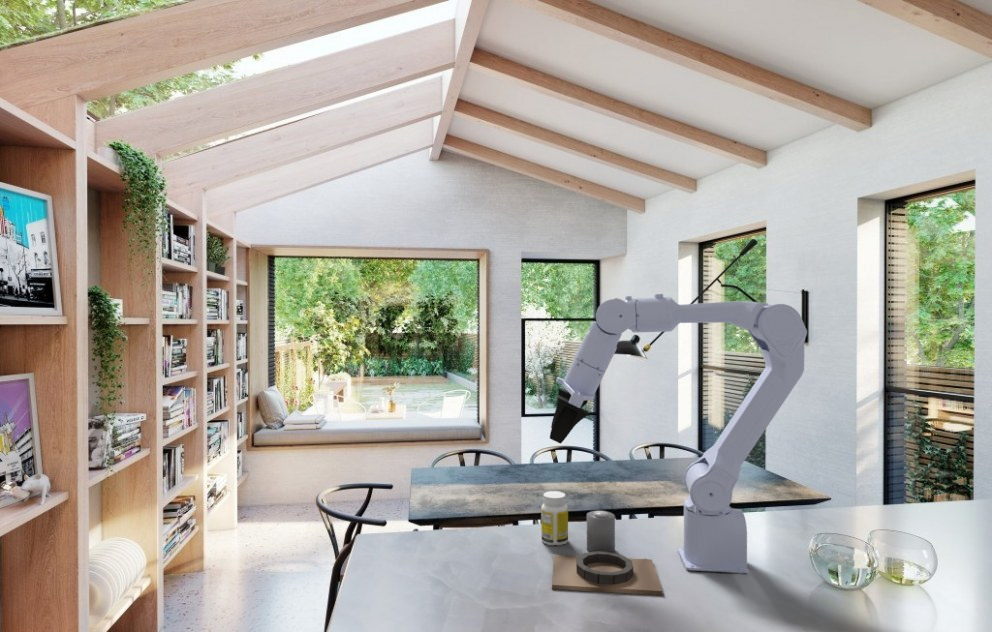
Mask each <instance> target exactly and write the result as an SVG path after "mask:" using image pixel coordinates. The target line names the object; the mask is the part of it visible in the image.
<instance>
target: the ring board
mask: <svg viewBox="0 0 992 632" xmlns="http://www.w3.org/2000/svg"><path fill="white" fill-rule="evenodd" d="M552 561H553V562H552V575H551V577H552V578H551V589H552V590H562V589H570V590H569V591H580V592H581V591H583V592H599V593H600V592H601V593H614V594H615V593H617V594H620V593H621V594H635V595H637V594H639V595H653V596H664V595H663V594H664V592H663V588H662V584H661V582H660V579H659V576H658V574H657V570H656V567H655V566H654V565H655V564H654V562H653V559H648V558H647V559H646V558H629V557H627V556H625V555H622V554H619V553H615V552H614V553H612V552H610V553H609V552H602V551H596V552H595V551H594V552H584V553H582V554H580V555H569V554H568V555H565V554H553V560H552Z"/></svg>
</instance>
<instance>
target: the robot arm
mask: <svg viewBox="0 0 992 632" xmlns="http://www.w3.org/2000/svg"><path fill="white" fill-rule="evenodd" d="M632 297H633V296H631V295H626V296H625V300H623V299H620V298H618V297H615V298H611V299H607V300H605V301H603V302H602V303H601V304H600V305H599V306H598V307H597V310H596V313H595V320H596V321H595V320H594V321H593V322H592V323H590V324H591V325H590V326H589V329H588V332H587V333H585V335H584V338H583V339H582V342H581V343H580V346H579V348H578V349H577V352H576V353H575V356H574V357H573V361H572V362H571V364H570V366H569V369H568V370H567V372H566V375H565V377H564V378H561V377H560V376H557V377H556V380H555V382H556V383H557V384H560V385H561V387H558V389H557V392H558V393H557V394H558V395H557V396H556V406H555V411H554V414H553V418H552V422H551V425H550V427H551V428H550V433H549V440H552V441H554V442H556V443H558V444H562V443H563V442H564V441H565V439H566V438H567V437H568V436H569V434H570V433H571V432H572V430H573V429H574V428H575V426H576V425H577V424H578V423H580V422H581V421H582V420H584V419H585V418H587V416H588V415H589V413H590V412H589V411H588V410H586V409H584V408H583V407H584V406H586V405H587V404H588V401H592V400H594V399H595V397H596V395H595V394H596V391H597V390H598V388H599V386H600V384H601V382H602V380H603V377H604V376H605V373H606V371H607V370H608V368H609V365H610V363H611V361H612V359H613V357H614V355H615V353H616V351H617V349H618V346H617V345H618V343H619V341H620V339H621V337H622V333H624V332H626V331H628V330H630V331H631V332H632V333H635V334H636V333H657V332H658V333H660V332H672V331H673V330H675V329H676V328H677V326H678V325H679V324H687V323H688V324H690V323H691V324H697V323H698V324H699V323H701V324H703V323H706V324H709V323H711V324H712V323H713V324H714V323H720V324H721V323H729V324H731V325H733V326H735V327H737V328H739V329H741V330H746V331H748V333H749V335H750V336H751V338H752V339H753V340H754V341H755V343H756V344H757V346H758V347H759V348H760V351H761V354H762V355H761V356H762V357H763V358H762V359H763V360H764V364H765V367H764V369H763V370H762V372H761V374H760V375H759V377H758V378H757V379H756V381H755V383H754V384H753V385H752V387H751V388H750V390H749V391H748V393H747V395H746V396H745V397H744V399H743V401H742V402H741V403H740V405H739V406H738V408H737V410H736V411H735V413H734V414H733V415H732V417H731V419H729V422H728V423H727V425H726V426H725V428H724V430H723V431H722V433H721V434H719V437H718V438H717V439H716V441H715V442H714V444H713V445H712V446H711V447H710V448H708V449H707V450H706V451H704V452H703V454H702V456H700V458H699V459H697V460H696V461H694V462H692V463H690V464H689V465H688V467H686V469H685V472H684V475H683V480H684V481H683V482H684V485H685V487H686V489H687V490H688V493H689V494H688V496H687V498H686V499H685V500H684V501H683V547H678V548H677V553H678V555H679V557H680V559H681V561H682V563H683V566H684V567H685V569H686V570H687V571H696V572H698V571H700V572H715V573H717V572H719V573H720V572H721V573H734V574H735V573H737V574H748V573H749V569H748V527H747V520H746V517H745V514H744V512H743V510H742V509H740V508H739V509H738V508H733V507H731V506H730V505H731V502H732V500H733V499H732V498H733V491H734V487H735V486H736V484H737V482H738V481H739V479H740V474H741V467H742V465H743V464H744V462H745V460H746V459H747V457H749V455H750V453H751V451H752V450H753V448H754V447H755V445H757V443H758V441H759V439H761V437H762V436H763V434H764V432H765V430H766V429H767V428H768V426H769V425H770V423H771V422H772V420H773V419H774V417H775V416H776V414H777V413H778V412H779V410H780V408H781V407H782V406H783V404H784V403H785V401H786V399H787V398H788V397H789V395H790V393H791V392H792V391H793V389H794V387H795V386H796V385H797V384H798V382H799V380H800V379H801V378H802V376H803V374H804V371H805V340H806V337H807V334H808V330H807V328H806V326H805V323H804V321H803V319H802V316H801V314H800V313H799V312H798V310H796V308H794V307H792V306H791V305H788V304H784V303H775V304H769V303H767V302H757V301H746V300H744V301H743V300H735V301H720V302H719V301H718V302H715V301H714V302H705V303H704V302H702V303H687V304H685V303H684V304H679V303H678V302H676V300H674V299H673V298H672V297H670V296H665V297H664V294H663V293H655V294H654V297H642V298H641V297H639V298H638V297H637V298H632ZM562 387H563V388H562Z"/></svg>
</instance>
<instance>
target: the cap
mask: <svg viewBox="0 0 992 632" xmlns="http://www.w3.org/2000/svg"><path fill="white" fill-rule="evenodd" d="M586 551H587V553H589V552H594V551H595V552H596V551H602V552H609V553H610V552H612V553H615V552H616V515H615V514H614V513H613V512H610V511H606V510H593V511H589V512H587V513H586Z"/></svg>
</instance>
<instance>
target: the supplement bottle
mask: <svg viewBox="0 0 992 632" xmlns="http://www.w3.org/2000/svg"><path fill="white" fill-rule="evenodd" d="M566 496H567V495H566V493H565V492H562V491H557V490H556V491H555V490H553V491H545V492H544V493H543V495H542V497H543V498H542V499H543V504H542V505H541V507H540V510H541V512H540V513H541V514H540V519H541V520H540V521H541V524H540V525H541V528H540V529H541V542H542V543H544V544H545V543H546V545H548V546H554V545H557V546H563V544H564V545H566V544H567V543H568V542H569V509H568V508H569V507H568V505H567V504H566V502H567V499H566V498H567V497H566Z"/></svg>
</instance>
